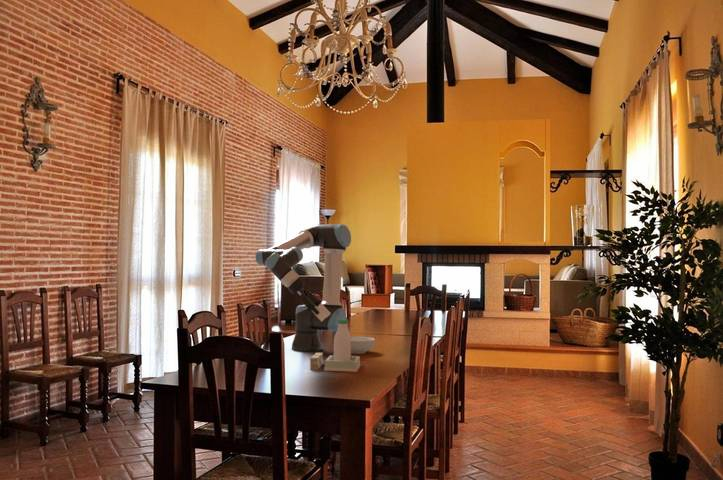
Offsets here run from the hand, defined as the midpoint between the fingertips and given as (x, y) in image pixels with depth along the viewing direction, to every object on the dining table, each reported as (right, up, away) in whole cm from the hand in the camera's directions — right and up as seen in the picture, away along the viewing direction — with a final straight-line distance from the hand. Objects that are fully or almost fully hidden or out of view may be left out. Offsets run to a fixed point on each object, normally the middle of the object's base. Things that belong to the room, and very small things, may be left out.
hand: (326, 317), depth 262 cm
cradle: (+7, -22, -1) cm, 23 cm away
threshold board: (-4, -22, 0) cm, 22 cm away
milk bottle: (+7, -21, -1) cm, 22 cm away
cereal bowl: (+13, -23, +39) cm, 47 cm away
